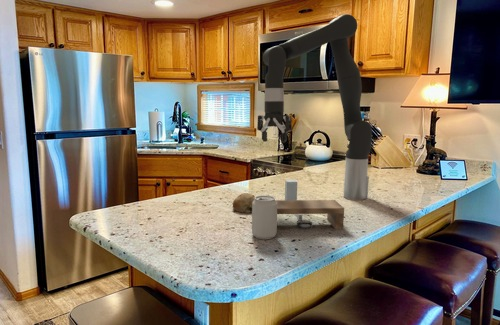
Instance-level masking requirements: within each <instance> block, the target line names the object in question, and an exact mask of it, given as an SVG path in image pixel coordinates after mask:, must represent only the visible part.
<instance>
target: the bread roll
mask: <svg viewBox="0 0 500 325" xmlns="http://www.w3.org/2000/svg"><path fill="white" fill-rule="evenodd" d="M255 197H256V196H255V194H252V193H249V192H248V193H247V192H245V193H244V192H243V193H241V194H239V195H238V196H237V197H236V198H234V200H233V202H232V208H233V210H234V211H236V212H239V213H246V214H249V213H252V202H253V201H254V200H255V199H254V198H255Z"/></svg>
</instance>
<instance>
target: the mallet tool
mask: <svg viewBox="0 0 500 325" xmlns="http://www.w3.org/2000/svg"><path fill="white" fill-rule="evenodd" d="M284 186H285V188H284V200H298V181H297V179H285V184H284ZM294 216H295V218H296V219H297V221H298V220H303V214H294Z"/></svg>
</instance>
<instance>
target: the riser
mask: <svg viewBox="0 0 500 325" xmlns="http://www.w3.org/2000/svg"><path fill="white" fill-rule="evenodd" d="M275 201H276V202H277V215H295V214H302V215H322V214H323V215H327V216H326V217H327V218H326V219H327V220H326V221H328V222H329V223H330V224H331V226H333V228H334V229H335V230H344V223H345V222H344V219H345V207H343V206H342V204H340V203H339V202H338V201H336V199H301V200H300V199H297V200H285V199H281V200H277V199H275Z"/></svg>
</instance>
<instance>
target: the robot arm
mask: <svg viewBox="0 0 500 325" xmlns="http://www.w3.org/2000/svg"><path fill="white" fill-rule="evenodd" d="M357 29H358V21H357V19H356V18H355V16H353V15H352V14H342V15H339V16H337V17H335V18H334V19H332V20H330V21H329V23H328V24H326V25H324V26H322V27H320V28H318V29H317V28H316V29H315V30H311V31H310V32H307V33H304V34H301V35H298V36H296V37H293V38H291V39H289V40H287V41H286V42H284V43H280V44H279V45H275V46H272V47H270V48H267V49H266V50H265V51H264V52H263V55H262V61H263V63H264V64H265V65H266V67H267V66H268V70H267V72H266V74H265V78H264V98H263V99H264V114H263V115H262V114H260V115H258V116H257V127H256V128H257V129H256V130H257V131H260V132H261V140H262V142H268V132H267V131H268V130H269V129H270V127H271V128H272V127H274V128H275V127H277V128H278V129H279V130H280V131H281V143H283V144H284V143H286V142H287V140H288V132H291V131H292V128H293V126H292V116H291V115H284V112H285V94H284V75H285V69H286V65H287V61H289V60H291V59H296V58H299V57H300V56H303V55H305V54H308V53H310V52H312V51H314V50H317V48H319V47H321V46H323V45H326V44H328V43H329V44H330V46H331V51H332V55H333V59H334V60H333V61H334V66H335V67H334V68H335V71H336V78H337V84H338V86H337V87H338V90H339V96H340V101H341V105H342V110H343V120H344V121H343V124H344V125H343V126H344V134H345V136H346V138H347V139H348V140H349V142H348V143H349V144H348V149H347V150H346V151H345V160H344V161H345V164H344V180H343V181H344V182H343V198H344V199H347V200H351V201H353V200H354V201H355V200H356V201H361V200H362V201H363V200H368V197H369V196H368V195H369V181H370V180H369V179H370V178H369V176H368V167H369V166H368V165H369V155H370V153H371V149H372V140H373V139H372V138H373V129H372V126H371V124H370V123H369V122H368V121H366V120H363V115H362V111H361V98H362V90H363V85H362V77H361V72H360V69H359V67H358V65H357V63H356V61H355V60H354V58H353V56H352V54H351V52H350V48H349V43H348V39H349V38H351V37H353V36H354V34H355V33H356V32H357ZM264 121H265V122H264ZM284 122H285V123H284Z"/></svg>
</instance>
